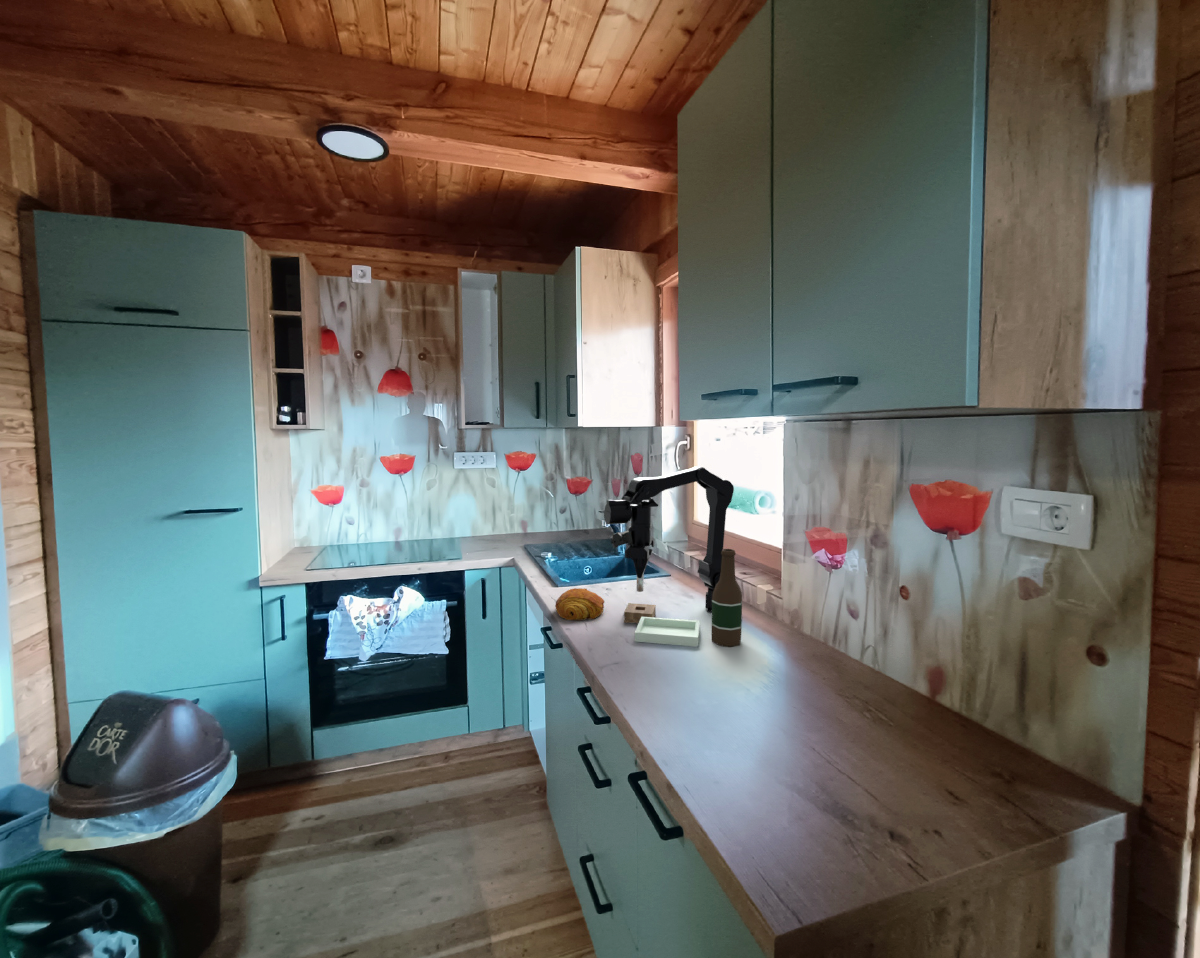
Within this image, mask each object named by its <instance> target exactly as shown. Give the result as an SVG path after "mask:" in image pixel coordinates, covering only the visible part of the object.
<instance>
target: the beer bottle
mask: <svg viewBox="0 0 1200 958" xmlns="http://www.w3.org/2000/svg"><path fill="white" fill-rule="evenodd" d="M721 555H722V562H721V574H720V579H719V582H718V583H717V584H716V586H715V589H714V591H713V596H712V612H711V633H710V634H711V642H712V643H713V644H716V645H717V646H721V647H727V648H732V647H737V646H740V644H741V640H742V628H743V626H742V622H743V619H742V618H743V592H742V588H741V587H740V584H739V583H738V582H737V578H736V565H735V563H736V561H735V556H736V550H735V549H731V548H723V550H722V552H721Z"/></svg>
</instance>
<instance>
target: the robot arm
mask: <svg viewBox="0 0 1200 958" xmlns="http://www.w3.org/2000/svg"><path fill="white" fill-rule="evenodd" d="M693 483H697V484H698V486H700V487H701V488H703V489H704V490H705V497H706V501H707V504H708V507H709V514H708V515H709V516H708V527H707V540H706V553H705V556H704V557H703V559H699V560H698V569H697V574H699V575H698V576H699V579H700V580H701V581H702V582H703V585H704V587H707V591H706V592H705V608H706V611H707V612H708V613H709V612H710V613H712V596H713V591H714V589H715V586H716V584H717V583H718V582H719V579H720V574H721V562H722V555H721V552H722V550H723V549H724V542H725V531H726V530H725V529H726V518H727V517H726V515H727V509H728V508H729V505H730V504H731V502H732V500H733V495H734V491H735V488H734V484H732V482H731V481H729V480H727V479H724V478H721V477H720V476H718V475H715V474H714V473H713V472H710V471H709V470H707V468H705V467H702V466H693V467H691V468H688V469H683V470H679V471H675V472H672V473H668V474H663V475H661V476H653V477H652V476H645V477H642V476H641V477H634V478H632V479H631V480H630V482H629V484H628V487H627V490H626V491H625V493H624V495H623V496H622V497H621V499H607V500H606V504H605V506H604V510H603V519H604V523H605V524H606V525H619V524H628V522H630V526H629V527H628V529H627V530H625V531H624V530H623V531H621V532H619V531H617V532H616V533H613V534H612V535H611V536H610V537H609V538H610V544H611V545H612V547H613V548H614V549H615V548H618V547H620V546H623V545H628V547H626V549H625V550H624V558H625V559H630V560H632V562H633V563H634V564H633V565H634V569H635V573H636V578H637V577H638V578H641V577H642V575H643V572H644V573H645V571H646V568H647V566H648V563H649V560H650V558H651V556H652V553H653V549H652V548H654V547H655V546H656V540H655V538H654V537H653V535H652V534H651V533H652V527H653V525H652V508H654V507H656V508H657V507H659V503H657V502H656V501H655V500H654V497H657V496H658V495H659V494H660V493H662V492H664V491H666V490H670V489H674V488H678V487H681V486H686V485H688V484H693ZM651 535H652V536H651ZM650 546H651V547H652V548H649V547H650Z"/></svg>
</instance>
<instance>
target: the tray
mask: <svg viewBox="0 0 1200 958" xmlns="http://www.w3.org/2000/svg"><path fill="white" fill-rule="evenodd" d="M700 622H701V621H700V620H693V619H691V620H690V619H681V618H678V619H676V618H667V617H666V618H665V617H655V618H654V617H641V619H640V621H639V623H637V627H636V629H635V631H634V642H637V643H648V644H649V643H650V644H660V645H661V644H662V645H673V646H684V647H685V646H686V647H697V648H698V647H699V641H700V640H699V638H700Z"/></svg>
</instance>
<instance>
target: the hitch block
mask: <svg viewBox="0 0 1200 958" xmlns="http://www.w3.org/2000/svg"><path fill="white" fill-rule="evenodd" d="M656 607H657V606H656V604H645V603H630V602H629V603H628V604H627V606H626V608H625V610H624V613H623V622H624V623H627V624H628V623H629V624H638V623H639V621H640V619H641V617H654V618H656V615H657V614H656V612H657V611H656Z"/></svg>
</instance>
